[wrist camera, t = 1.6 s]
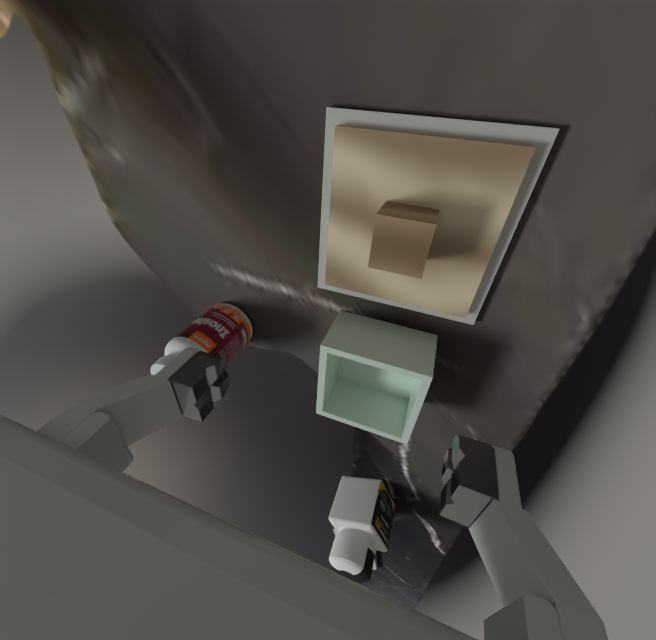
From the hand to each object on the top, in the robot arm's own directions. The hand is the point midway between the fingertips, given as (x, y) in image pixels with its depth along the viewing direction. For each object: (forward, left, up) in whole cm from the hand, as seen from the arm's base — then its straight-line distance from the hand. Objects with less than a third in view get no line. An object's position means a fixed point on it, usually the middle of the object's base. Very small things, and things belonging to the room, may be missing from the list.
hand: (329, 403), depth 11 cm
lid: (0, 0, -19) cm, 19 cm away
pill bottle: (+16, -19, -20) cm, 32 cm away
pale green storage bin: (+15, 0, -19) cm, 24 cm away
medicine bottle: (+44, +3, -20) cm, 48 cm away
